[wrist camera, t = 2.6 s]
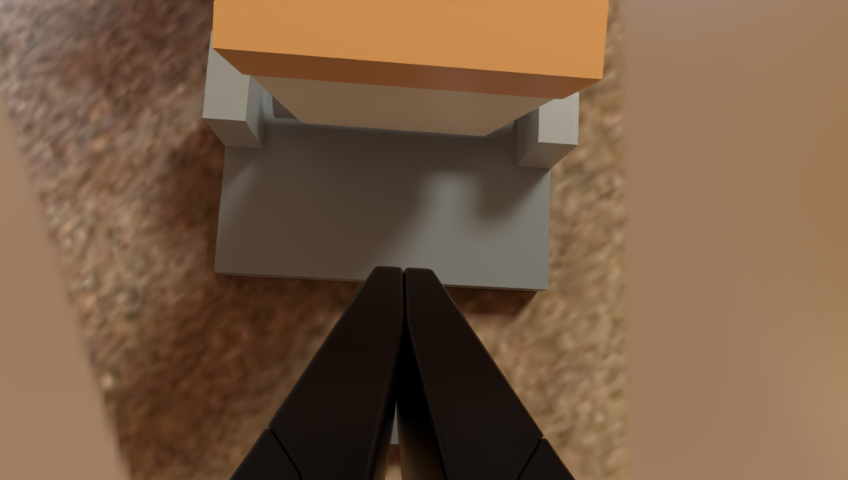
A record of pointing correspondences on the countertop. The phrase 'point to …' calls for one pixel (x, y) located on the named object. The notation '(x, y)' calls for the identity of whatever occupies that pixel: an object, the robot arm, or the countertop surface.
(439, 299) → the robot arm
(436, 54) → the lever
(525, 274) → the grey twin-post base
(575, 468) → the countertop surface
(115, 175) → the countertop surface
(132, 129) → the countertop surface
